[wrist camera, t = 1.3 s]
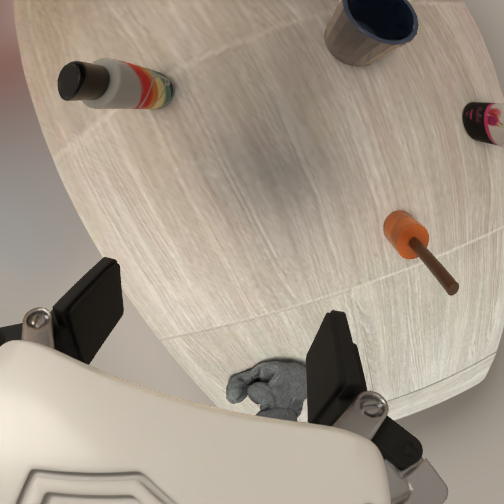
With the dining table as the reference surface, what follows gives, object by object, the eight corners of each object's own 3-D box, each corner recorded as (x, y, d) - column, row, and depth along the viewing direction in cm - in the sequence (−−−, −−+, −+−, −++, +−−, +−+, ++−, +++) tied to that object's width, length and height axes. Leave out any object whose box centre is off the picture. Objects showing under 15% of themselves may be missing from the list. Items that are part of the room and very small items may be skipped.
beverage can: (455, 116, 29) (518, 124, 16) (473, 95, 27) (534, 97, 13) (475, 147, 31) (535, 167, 17) (492, 126, 28) (551, 139, 15)
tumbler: (343, 9, 25) (365, -30, 13) (389, 42, 26) (429, 17, 15) (313, 43, 28) (327, 8, 17) (361, 77, 30) (397, 59, 18)
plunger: (398, 203, 37) (459, 257, 21) (418, 223, 38) (478, 283, 22) (377, 229, 40) (425, 295, 24) (397, 248, 40) (446, 316, 24)
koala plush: (223, 378, 59) (206, 450, 42) (274, 341, 52) (268, 428, 34) (277, 406, 63) (273, 472, 45) (331, 375, 55) (338, 451, 38)
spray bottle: (181, 96, 34) (99, 82, 16) (151, 116, 35) (58, 123, 17) (165, 67, 32) (79, 38, 14) (135, 88, 33) (41, 80, 15)
